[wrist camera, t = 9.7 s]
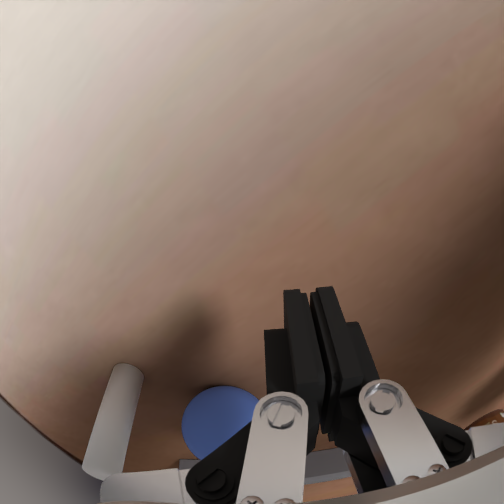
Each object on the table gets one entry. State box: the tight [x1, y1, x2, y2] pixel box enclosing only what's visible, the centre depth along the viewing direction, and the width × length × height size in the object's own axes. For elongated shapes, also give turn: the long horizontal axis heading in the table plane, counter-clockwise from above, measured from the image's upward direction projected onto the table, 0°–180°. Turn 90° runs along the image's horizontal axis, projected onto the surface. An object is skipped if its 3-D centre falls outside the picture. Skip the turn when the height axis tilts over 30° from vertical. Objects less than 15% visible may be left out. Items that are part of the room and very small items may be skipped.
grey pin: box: [82, 363, 144, 481], centre depth 17 cm, size 2×2×8 cm
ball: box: [182, 386, 259, 460], centre depth 20 cm, size 6×6×6 cm
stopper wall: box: [179, 448, 351, 485], centre depth 27 cm, size 2×20×3 cm, turn 95°
